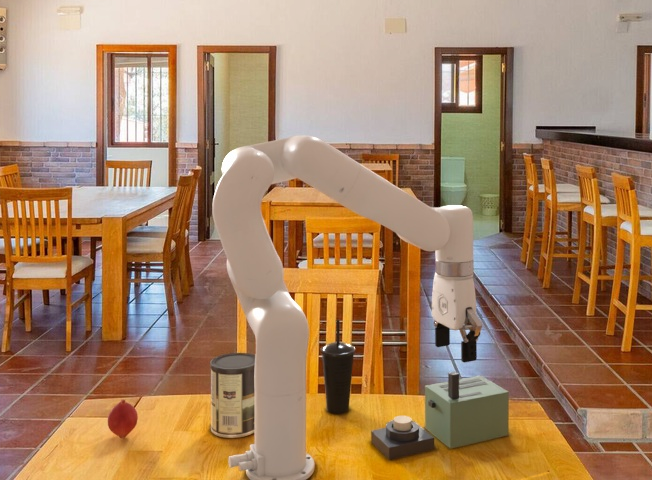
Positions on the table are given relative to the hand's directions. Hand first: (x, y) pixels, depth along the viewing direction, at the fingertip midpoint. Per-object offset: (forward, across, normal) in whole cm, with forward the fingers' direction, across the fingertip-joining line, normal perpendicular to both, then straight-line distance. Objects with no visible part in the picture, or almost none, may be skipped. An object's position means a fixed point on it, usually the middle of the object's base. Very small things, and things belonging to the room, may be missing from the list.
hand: (455, 353), depth 141 cm
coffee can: (+18, -25, -39) cm, 49 cm away
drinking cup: (+18, -24, -16) cm, 34 cm away
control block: (+18, -3, -11) cm, 21 cm away
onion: (+17, -30, -61) cm, 70 cm away
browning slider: (+9, 0, 0) cm, 9 cm away
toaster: (+18, -3, +4) cm, 19 cm away
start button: (+14, -3, -11) cm, 18 cm away
